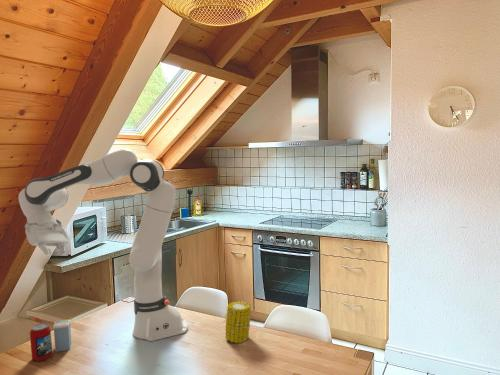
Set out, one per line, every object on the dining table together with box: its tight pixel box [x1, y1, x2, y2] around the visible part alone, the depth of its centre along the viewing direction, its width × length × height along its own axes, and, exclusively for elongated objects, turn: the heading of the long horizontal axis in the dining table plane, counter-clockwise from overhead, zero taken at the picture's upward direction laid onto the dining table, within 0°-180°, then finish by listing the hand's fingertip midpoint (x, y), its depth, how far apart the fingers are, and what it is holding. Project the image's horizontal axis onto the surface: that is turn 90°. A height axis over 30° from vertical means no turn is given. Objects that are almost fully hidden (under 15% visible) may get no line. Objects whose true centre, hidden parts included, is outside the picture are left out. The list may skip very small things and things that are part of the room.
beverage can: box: [29, 322, 53, 362], centre depth 149 cm, size 7×7×12 cm
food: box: [224, 300, 252, 344], centre depth 159 cm, size 15×12×10 cm
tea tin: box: [53, 318, 72, 353], centre depth 156 cm, size 5×5×10 cm
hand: (56, 254), depth 157 cm, fingers open, 8 cm apart
